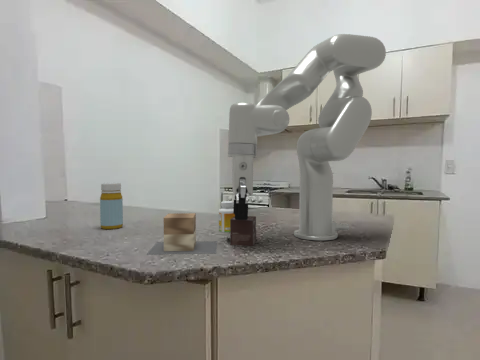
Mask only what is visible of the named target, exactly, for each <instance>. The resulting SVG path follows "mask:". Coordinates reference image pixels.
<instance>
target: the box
mask: <svg viewBox="0 0 480 360" xmlns="http://www.w3.org/2000/svg"><path fill="white" fill-rule="evenodd" d="M229 233H230V237H229V238H230V239H229V240H230V241H229V242H230V243H229V244H230V246H239V247H240V246H242V247H243V246H244V247H247V246H248V247H253V246H254V245H255V244H256V243H257V216H253V215H252V216H250V215H249V216H248V219H247V220H236V219H235V217H233V218H232V219H230V232H229Z"/></svg>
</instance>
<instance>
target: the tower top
mask: <svg viewBox="0 0 480 360" xmlns="http://www.w3.org/2000/svg"><path fill="white" fill-rule="evenodd" d="M196 215H197V214H196V213H195V212H194V213H191V212H189V213H188V212H187V213H185V212H184V213H181V212H180V213H176V212H175V213H171V212H170V213H167V214H166V215H165V216H164V217H163V236H164V235H173V234H194V232H195V229H196V230H197V228H196V227H197V221H196V220H197V216H196Z"/></svg>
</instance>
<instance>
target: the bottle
mask: <svg viewBox="0 0 480 360" xmlns="http://www.w3.org/2000/svg"><path fill="white" fill-rule="evenodd" d="M121 189H122V184H121V182H107V183H105V182H104V183H101V184H100V190H101V191H100V192H101V194H100V197H99V208H100V209H99V218H100V219H99V220H100V223H99V224H100V228H101V229H102V230H117V229H121V228H122V227H123V226H124V216H123V215H124V210H123V208H124V207H123V200H124V199H123V195H122V190H121Z"/></svg>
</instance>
